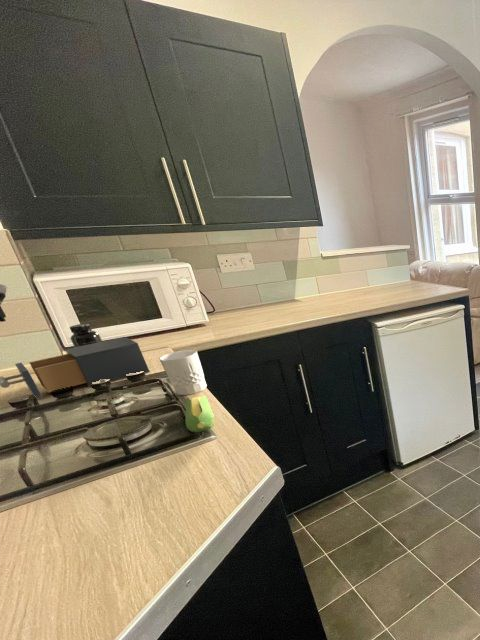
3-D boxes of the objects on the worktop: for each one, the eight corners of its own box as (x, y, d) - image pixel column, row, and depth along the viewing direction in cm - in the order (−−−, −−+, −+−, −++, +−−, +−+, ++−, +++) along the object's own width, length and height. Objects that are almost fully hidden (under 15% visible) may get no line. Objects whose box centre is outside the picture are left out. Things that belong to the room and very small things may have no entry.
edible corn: (190, 440, 87) (182, 421, 85) (186, 408, 102) (179, 391, 100) (219, 432, 90) (212, 413, 88) (211, 401, 104) (205, 385, 103)
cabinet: (90, 387, 117) (75, 356, 113) (79, 378, 124) (65, 349, 120) (149, 371, 127) (137, 342, 123) (137, 363, 134) (125, 336, 130)
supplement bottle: (114, 355, 143) (98, 321, 138) (103, 361, 137) (86, 326, 132) (89, 358, 141) (72, 323, 136) (77, 365, 135) (59, 329, 130)
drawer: (11, 404, 106) (-5, 377, 103) (5, 394, 112) (-10, 369, 109) (98, 381, 118) (86, 357, 115) (88, 373, 125) (77, 350, 122)
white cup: (188, 384, 116) (175, 350, 112) (216, 383, 115) (203, 349, 111) (166, 396, 108) (151, 360, 104) (195, 396, 108) (181, 359, 104)
